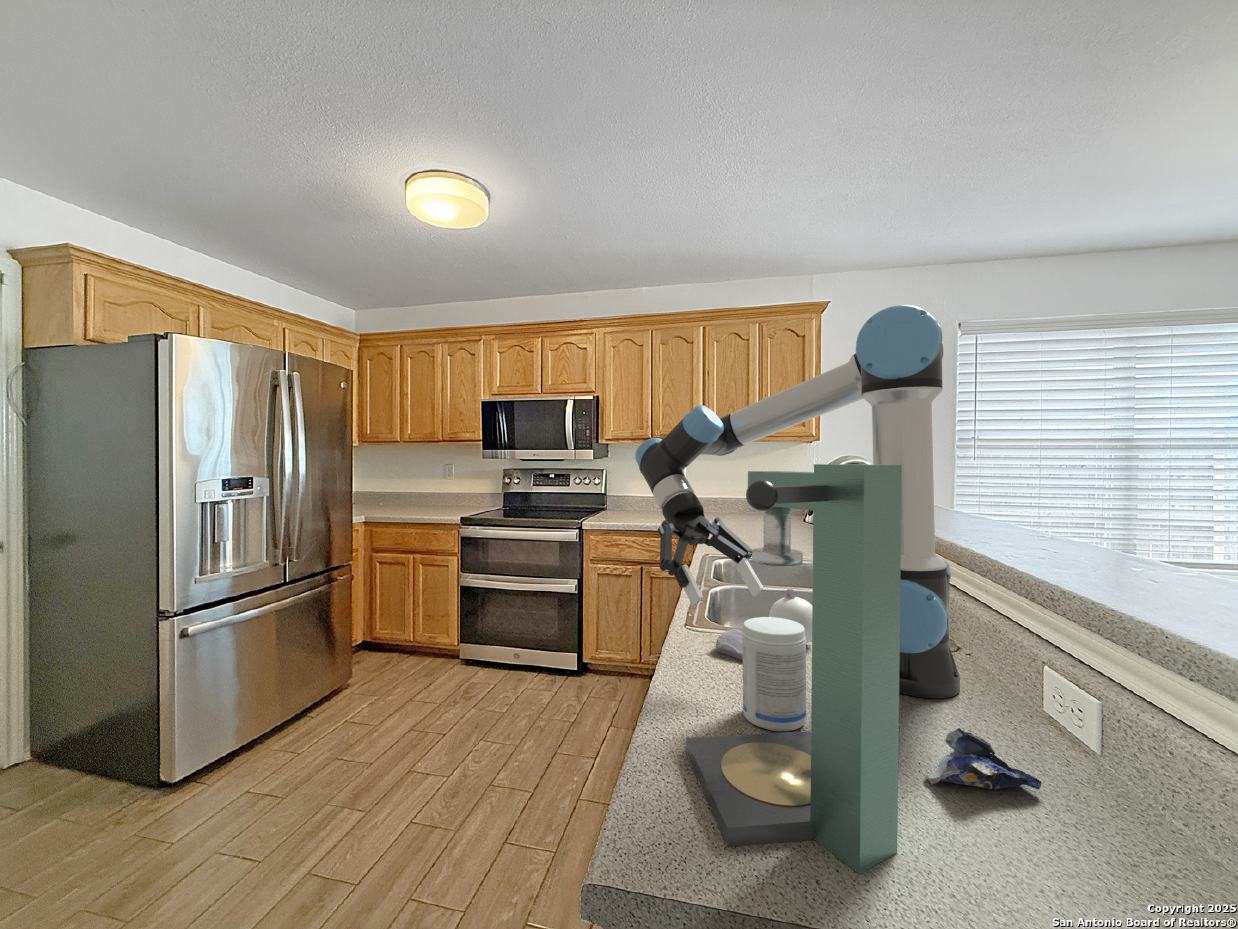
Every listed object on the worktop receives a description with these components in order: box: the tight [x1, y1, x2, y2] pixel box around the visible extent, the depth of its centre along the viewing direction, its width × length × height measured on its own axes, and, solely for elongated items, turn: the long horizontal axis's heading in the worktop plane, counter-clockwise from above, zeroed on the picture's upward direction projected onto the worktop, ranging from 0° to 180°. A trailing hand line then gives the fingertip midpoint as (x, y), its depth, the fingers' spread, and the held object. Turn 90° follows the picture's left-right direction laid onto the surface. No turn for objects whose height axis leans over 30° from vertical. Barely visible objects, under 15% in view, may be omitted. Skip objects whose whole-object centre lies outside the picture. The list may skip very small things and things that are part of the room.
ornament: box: [768, 588, 812, 645], centre depth 117 cm, size 10×10×12 cm
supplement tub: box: [742, 616, 807, 732], centre depth 83 cm, size 10×10×15 cm
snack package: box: [925, 727, 1042, 796], centre depth 68 cm, size 12×7×12 cm
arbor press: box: [685, 463, 902, 875], centre depth 63 cm, size 18×23×40 cm
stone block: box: [715, 627, 743, 661], centre depth 112 cm, size 12×5×10 cm
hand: (729, 597), depth 92 cm, fingers open, 13 cm apart
